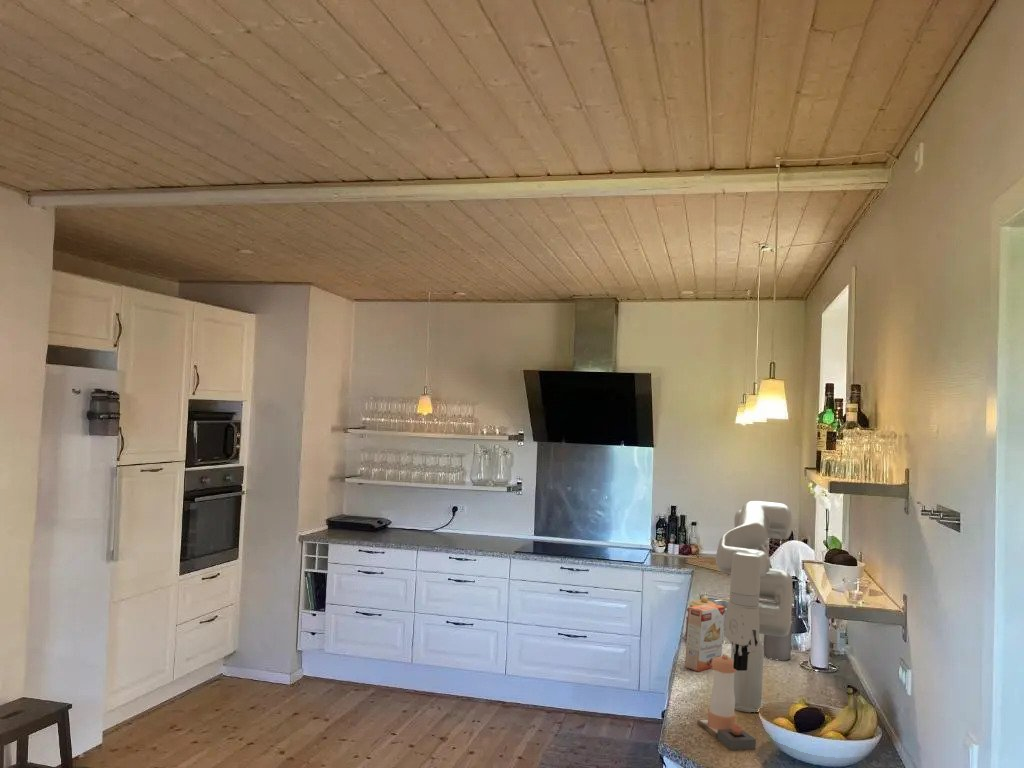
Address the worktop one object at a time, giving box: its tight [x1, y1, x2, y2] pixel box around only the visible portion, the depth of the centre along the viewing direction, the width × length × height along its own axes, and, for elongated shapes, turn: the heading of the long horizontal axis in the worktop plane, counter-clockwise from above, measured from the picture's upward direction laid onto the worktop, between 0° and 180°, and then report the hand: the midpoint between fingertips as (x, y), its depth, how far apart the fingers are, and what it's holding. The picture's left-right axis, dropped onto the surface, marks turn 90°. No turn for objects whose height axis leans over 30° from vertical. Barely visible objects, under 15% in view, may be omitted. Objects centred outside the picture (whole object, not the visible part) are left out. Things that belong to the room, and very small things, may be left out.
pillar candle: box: [763, 620, 793, 661], centre depth 286 cm, size 10×10×15 cm
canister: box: [684, 595, 716, 642], centre depth 299 cm, size 13×13×18 cm
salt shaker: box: [707, 654, 737, 730], centre depth 213 cm, size 7×7×19 cm
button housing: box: [716, 729, 757, 751], centre depth 203 cm, size 7×7×2 cm
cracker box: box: [684, 603, 726, 672], centre depth 268 cm, size 14×6×21 cm, turn 131°
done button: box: [732, 723, 743, 735], centre depth 204 cm, size 3×3×2 cm
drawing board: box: [696, 718, 718, 739], centre depth 212 cm, size 10×9×1 cm
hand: (740, 669), depth 204 cm, fingers closed
